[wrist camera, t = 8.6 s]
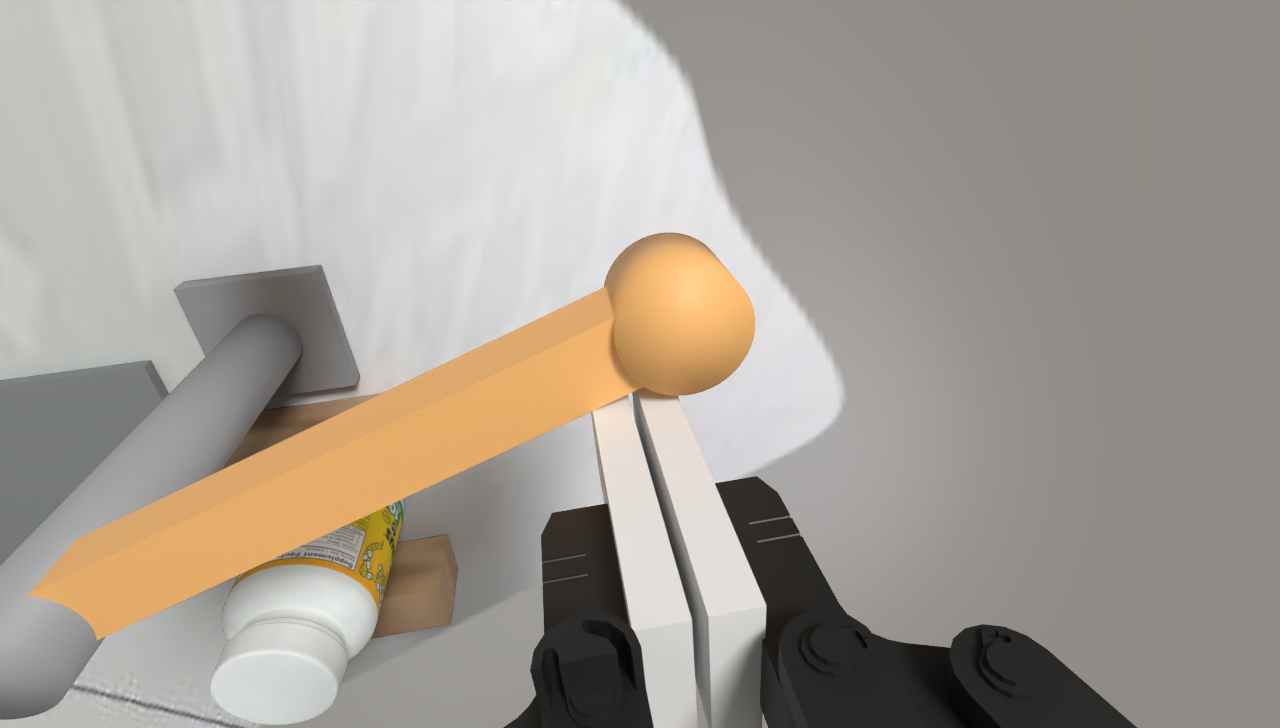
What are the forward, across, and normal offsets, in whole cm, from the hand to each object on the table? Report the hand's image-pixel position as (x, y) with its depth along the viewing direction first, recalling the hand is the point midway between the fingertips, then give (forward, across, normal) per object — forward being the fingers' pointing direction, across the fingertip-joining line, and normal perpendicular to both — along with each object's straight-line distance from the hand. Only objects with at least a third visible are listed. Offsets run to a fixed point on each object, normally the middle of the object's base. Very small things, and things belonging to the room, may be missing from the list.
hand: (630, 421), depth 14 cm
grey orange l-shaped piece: (+12, -6, +1) cm, 13 cm away
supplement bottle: (+13, -13, -11) cm, 21 cm away
